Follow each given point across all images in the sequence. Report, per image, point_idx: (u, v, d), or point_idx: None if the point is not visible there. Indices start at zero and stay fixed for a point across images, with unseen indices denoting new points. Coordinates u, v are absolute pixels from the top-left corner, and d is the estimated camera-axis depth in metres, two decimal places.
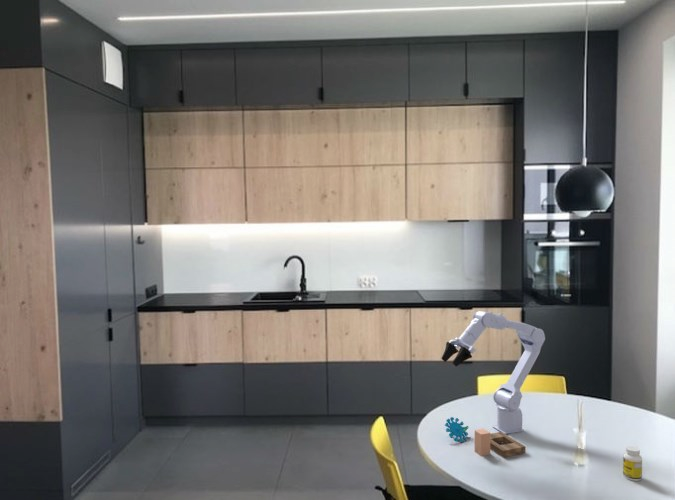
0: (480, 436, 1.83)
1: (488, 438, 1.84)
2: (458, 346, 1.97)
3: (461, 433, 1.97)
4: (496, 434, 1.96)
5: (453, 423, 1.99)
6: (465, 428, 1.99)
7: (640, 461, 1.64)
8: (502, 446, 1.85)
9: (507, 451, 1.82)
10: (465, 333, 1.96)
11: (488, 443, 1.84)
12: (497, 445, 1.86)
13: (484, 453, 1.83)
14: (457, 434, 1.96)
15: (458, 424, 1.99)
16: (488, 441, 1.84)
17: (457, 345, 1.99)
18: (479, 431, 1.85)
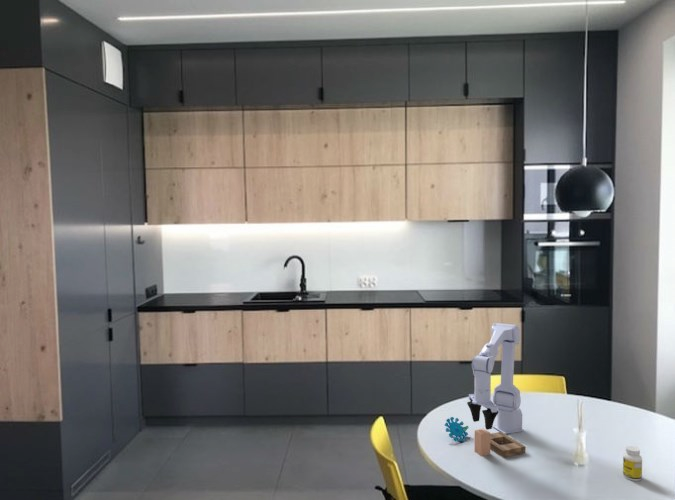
0: (480, 436, 1.83)
1: (488, 438, 1.84)
2: None
3: (461, 433, 1.97)
4: (496, 434, 1.96)
5: (453, 423, 1.99)
6: (465, 428, 1.99)
7: (640, 461, 1.64)
8: (502, 446, 1.85)
9: (507, 451, 1.82)
10: (477, 392, 1.83)
11: (488, 443, 1.84)
12: (497, 445, 1.86)
13: (484, 453, 1.83)
14: (457, 434, 1.96)
15: (458, 424, 1.99)
16: (488, 441, 1.84)
17: None
18: (479, 431, 1.85)
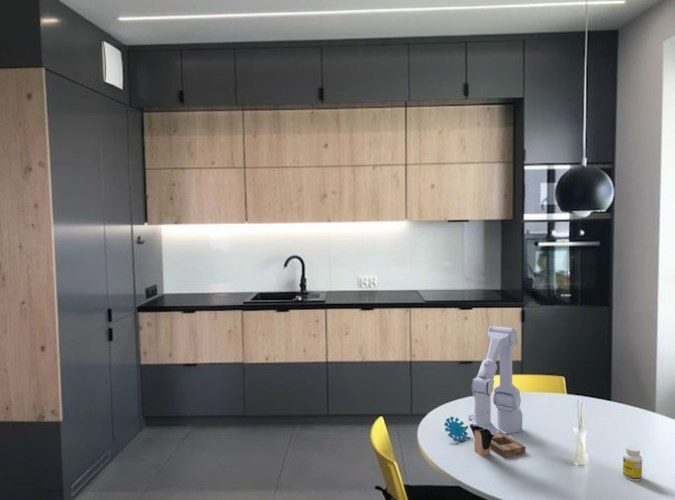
0: (480, 436, 1.83)
1: None
2: None
3: (460, 433, 1.97)
4: (496, 434, 1.96)
5: (453, 423, 1.99)
6: (465, 428, 2.00)
7: (640, 461, 1.64)
8: (502, 446, 1.85)
9: (507, 451, 1.82)
10: (477, 414, 1.83)
11: None
12: (497, 445, 1.86)
13: (484, 453, 1.83)
14: (456, 434, 1.96)
15: (458, 424, 2.00)
16: None
17: None
18: (479, 431, 1.85)
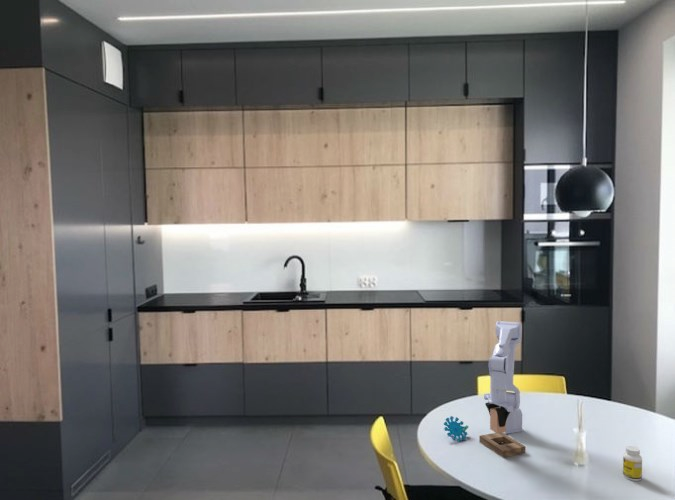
0: (496, 414, 1.86)
1: None
2: None
3: (460, 432, 1.97)
4: (496, 434, 1.96)
5: (452, 422, 1.99)
6: (465, 428, 2.00)
7: (640, 461, 1.64)
8: (502, 446, 1.85)
9: (507, 451, 1.82)
10: (493, 392, 1.86)
11: None
12: (497, 445, 1.86)
13: (500, 430, 1.87)
14: (455, 433, 1.96)
15: (457, 423, 2.00)
16: None
17: None
18: (495, 409, 1.88)
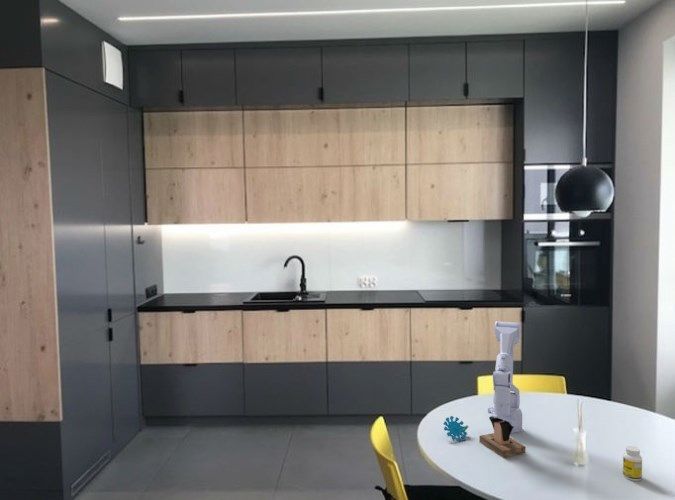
0: (500, 428, 1.87)
1: None
2: None
3: (460, 432, 1.98)
4: None
5: (452, 422, 2.00)
6: (464, 428, 2.00)
7: (640, 461, 1.64)
8: (502, 446, 1.85)
9: (507, 451, 1.82)
10: (497, 406, 1.87)
11: None
12: (497, 445, 1.86)
13: (504, 444, 1.88)
14: (455, 433, 1.97)
15: (457, 423, 2.00)
16: None
17: None
18: (499, 423, 1.89)
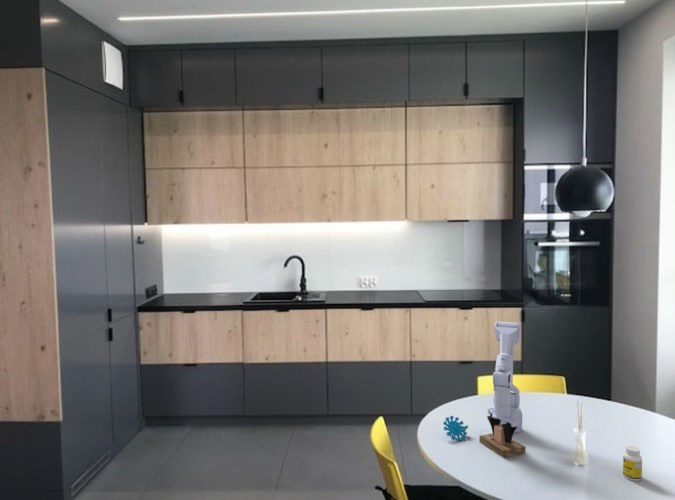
0: (499, 431, 1.87)
1: None
2: None
3: (459, 432, 1.98)
4: None
5: (452, 422, 2.00)
6: (464, 427, 2.00)
7: (640, 461, 1.64)
8: (502, 446, 1.85)
9: (507, 451, 1.82)
10: (497, 407, 1.87)
11: None
12: (497, 445, 1.86)
13: None
14: (455, 433, 1.97)
15: (457, 423, 2.00)
16: None
17: None
18: (498, 426, 1.89)
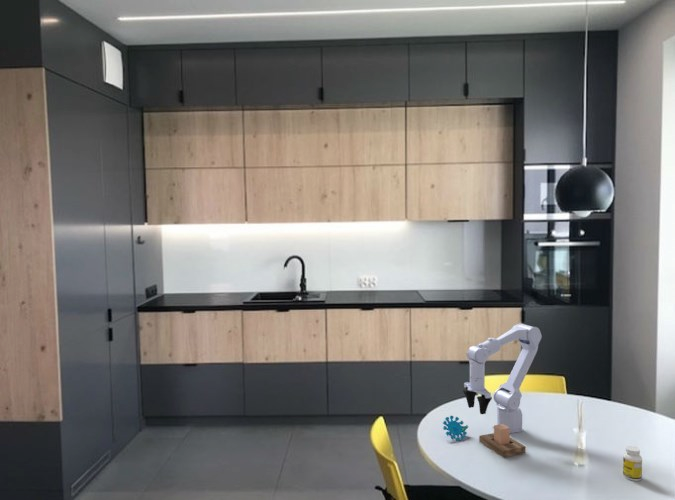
0: (499, 431, 1.87)
1: (507, 433, 1.88)
2: None
3: (459, 432, 1.98)
4: None
5: (452, 422, 2.00)
6: (464, 427, 2.00)
7: (640, 461, 1.64)
8: (502, 446, 1.85)
9: (507, 451, 1.82)
10: (472, 380, 1.99)
11: (507, 437, 1.88)
12: (497, 445, 1.86)
13: None
14: (454, 433, 1.97)
15: (457, 423, 2.00)
16: (507, 436, 1.88)
17: None
18: (498, 426, 1.89)
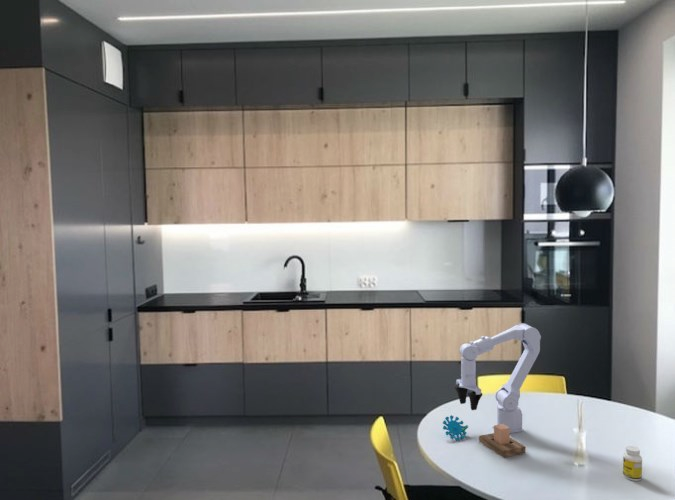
0: (499, 431, 1.87)
1: (507, 433, 1.88)
2: None
3: (459, 432, 1.98)
4: None
5: (452, 421, 2.00)
6: (464, 427, 2.00)
7: (640, 461, 1.64)
8: (502, 446, 1.85)
9: (507, 451, 1.82)
10: (463, 377, 2.03)
11: (507, 437, 1.88)
12: (497, 445, 1.86)
13: None
14: (454, 432, 1.97)
15: (457, 423, 2.01)
16: (507, 436, 1.88)
17: None
18: (498, 426, 1.90)
